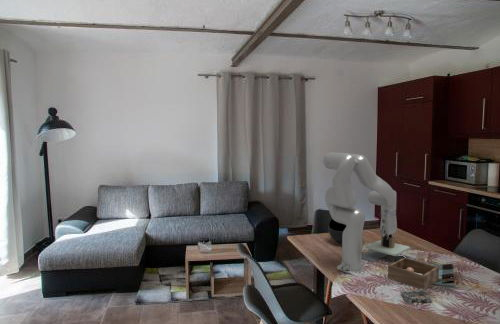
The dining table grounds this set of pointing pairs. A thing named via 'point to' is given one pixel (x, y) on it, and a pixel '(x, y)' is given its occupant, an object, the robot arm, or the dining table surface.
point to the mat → (378, 256)
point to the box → (410, 278)
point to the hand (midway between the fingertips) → (387, 245)
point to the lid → (393, 247)
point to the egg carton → (418, 292)
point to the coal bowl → (336, 230)
